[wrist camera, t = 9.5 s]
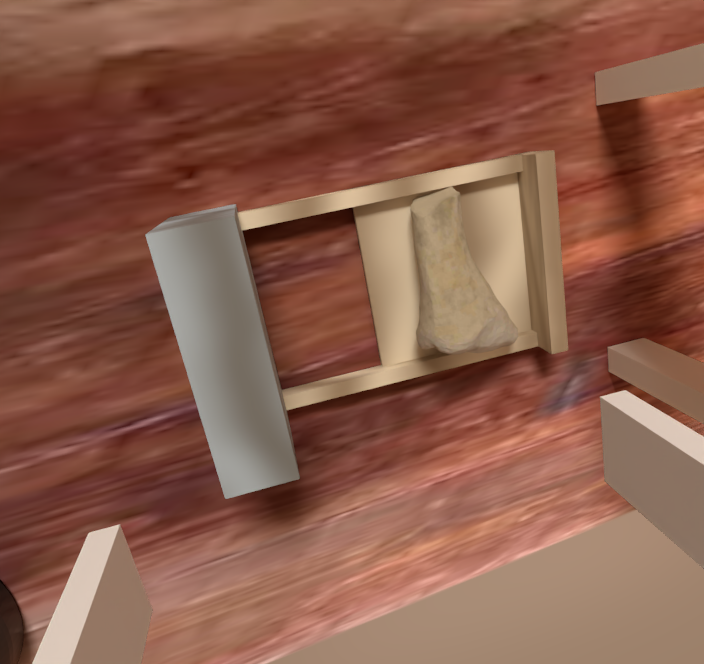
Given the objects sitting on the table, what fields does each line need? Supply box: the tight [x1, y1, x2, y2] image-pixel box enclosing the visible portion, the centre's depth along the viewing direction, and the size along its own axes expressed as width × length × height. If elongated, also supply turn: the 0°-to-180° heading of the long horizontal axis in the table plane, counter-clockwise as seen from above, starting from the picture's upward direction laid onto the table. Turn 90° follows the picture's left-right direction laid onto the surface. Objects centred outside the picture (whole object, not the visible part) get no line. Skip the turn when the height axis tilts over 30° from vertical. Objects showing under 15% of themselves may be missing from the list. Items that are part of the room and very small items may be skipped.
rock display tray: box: [145, 150, 568, 499], centre depth 33 cm, size 23×14×9 cm, turn 101°
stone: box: [410, 187, 518, 354], centre depth 35 cm, size 11×6×5 cm, turn 27°
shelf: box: [595, 43, 704, 424], centre depth 32 cm, size 8×21×14 cm, turn 11°
